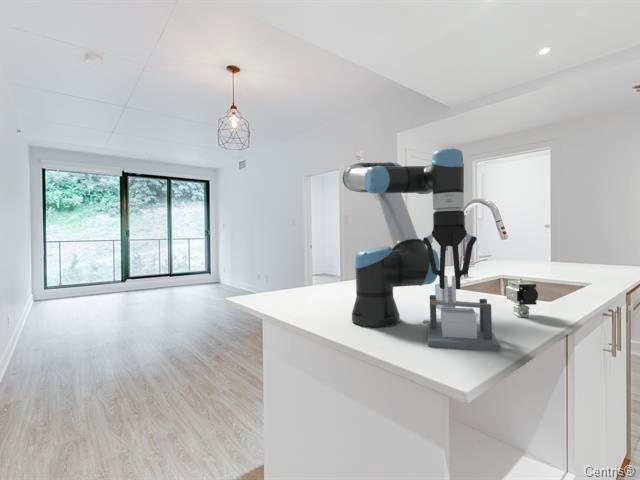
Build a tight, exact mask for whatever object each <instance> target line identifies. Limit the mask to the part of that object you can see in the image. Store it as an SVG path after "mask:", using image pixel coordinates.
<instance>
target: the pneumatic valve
mask: <svg viewBox="0 0 640 480" xmlns="http://www.w3.org/2000/svg"><path fill="white" fill-rule="evenodd" d="M504 296H505V297H506V299H507V300H509V301H511V302H514V304H513V305H512V307H513V314H512V315H513V316H515V317H518V318H519V319H520V318H531V317H530V316H531V315H530V306H531V305H532V306H533V305H534V306H536V305H537V300H538V298H539V293H538V291H537V284H536V283H533V282H530V281H527V280H524V279H523V278H518V279H510V280H508V279H507V280H506V285H505V286H504ZM528 305H530V306H528Z"/></svg>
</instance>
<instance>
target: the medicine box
mask: <svg viewBox="0 0 640 480" xmlns="http://www.w3.org/2000/svg"><path fill="white" fill-rule="evenodd" d="M434 293H435V294H434V295H436V300H444V289H441V288H440V283H436V284H434ZM448 301H452V284H449V283H448ZM441 307H445V308H457V306H447V305H436V309H438V310H440V311H441Z"/></svg>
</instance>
